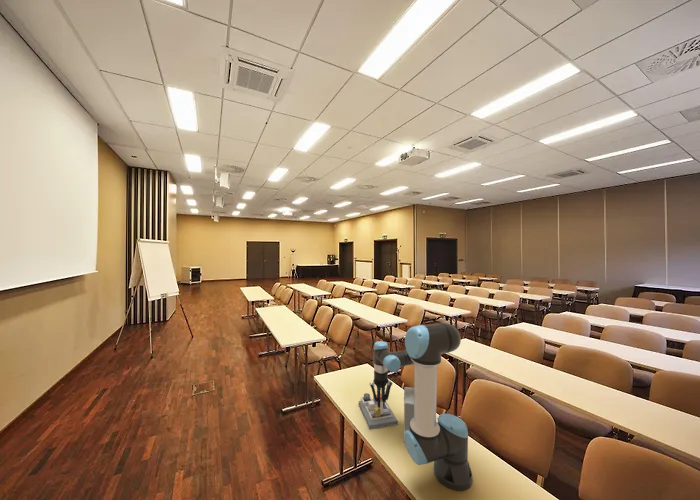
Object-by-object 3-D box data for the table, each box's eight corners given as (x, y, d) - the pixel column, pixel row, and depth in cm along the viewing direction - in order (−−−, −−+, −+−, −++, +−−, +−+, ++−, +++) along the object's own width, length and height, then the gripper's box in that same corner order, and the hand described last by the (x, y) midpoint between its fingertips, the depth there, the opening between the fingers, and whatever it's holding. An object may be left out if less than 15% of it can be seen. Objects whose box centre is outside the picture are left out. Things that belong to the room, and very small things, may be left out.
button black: (370, 401, 155) (370, 396, 155) (364, 402, 154) (364, 397, 154) (368, 398, 159) (368, 392, 158) (363, 398, 158) (363, 393, 158)
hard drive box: (420, 446, 126) (420, 405, 126) (403, 443, 128) (403, 403, 127) (418, 424, 142) (418, 387, 141) (403, 422, 143) (403, 386, 143)
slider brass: (380, 417, 144) (380, 410, 144) (375, 418, 143) (375, 410, 143) (378, 413, 147) (378, 406, 147) (373, 414, 146) (373, 407, 146)
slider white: (374, 410, 150) (374, 403, 150) (369, 411, 149) (369, 404, 149) (373, 407, 153) (373, 400, 153) (368, 408, 152) (368, 401, 152)
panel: (397, 424, 142) (397, 415, 142) (369, 429, 138) (369, 419, 138) (383, 400, 163) (383, 392, 163) (358, 404, 160) (358, 396, 159)
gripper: (389, 366, 150) (389, 406, 151) (367, 368, 148) (367, 410, 148) (394, 372, 143) (394, 415, 144) (371, 375, 140) (371, 418, 141)
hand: (381, 412), depth 146 cm, fingers closed
